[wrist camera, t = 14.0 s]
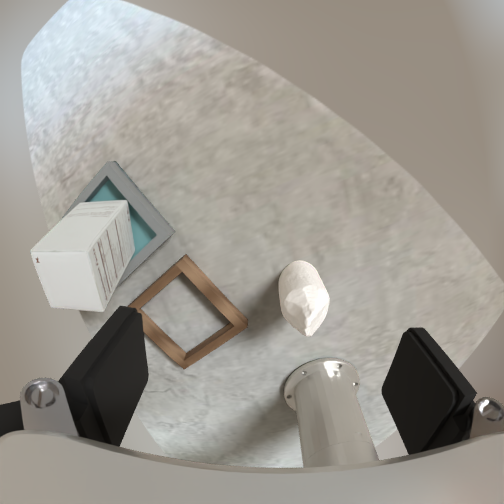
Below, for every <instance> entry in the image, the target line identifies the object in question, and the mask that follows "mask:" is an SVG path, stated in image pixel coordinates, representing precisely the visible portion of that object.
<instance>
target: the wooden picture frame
mask: <svg viewBox="0 0 504 504" xmlns="http://www.w3.org/2000/svg"><path fill="white" fill-rule="evenodd" d="M181 272H183V273H184V274H185V275H186V276H187V277H188V278H189V279H190V280H191V281H192V283H193V284H194V285H195V286H196V287H197V288H198V289H199V290H200V291H201V292H202V293H203V294H204V295H205V296H206V297H207V298H208V299H209V300H210V301H211V302H212V304H213V305H214V306H215V307H216V308H217V309H218V310H219V311H220V312H221V313H222V314H223V315H224V316H225V317H226V318H227V319H228V320H229V321H230V323H229V324H228V325H226V326H225V327H223V328H222V329H220V330H219V331H218V332H216V333H215V334H213V335H212V336H210V337H209V338H208V339H206V340H205V341H203V342H202V343H200V344H199V345H198V346H196V347H195V348H193V349H192V350H190V351H189V352H187V353H186V352H185V351H183V350H182V349H181V348H180V347H179V346H178V345H177V344H176V343H175V342H174V341H173V340H172V339H171V338H170V337H169V336H168V335H167V334H165V333H164V332H163V331H162V330H161V329H160V328H159V327H158V326H157V325H156V324H155V323H154V322H153V321H152V320H151V319H150V318H149V317H148V316H147V315H146V314H145V313H144V312H143V311H142V310H141V309H140V308H141V307H142V306H143V305H144V304H146V303H147V302H148V301H149V300H150V299H151V298H152V297H154V296H155V295H156V294H157V293H158V292H159V291H160V290H162V289H163V288H164V287H165V286H166V285H167V284H169V283H170V282H171V281H172V280H173V279H174V278H176V277H177V276H178V275H179V274H180V273H181ZM128 307H132V308H136V309H137V312H138V313H141V314H142V320H143V331H144V333H145V334H146V335H147V336H148V337H149V338H150V339H151V340H152V341H153V342H154V343H156V344H157V345H158V346H159V347H160V348H161V349H162V350H163V351H164V352H165V353H166V354H167V355H168V356H170V357H171V358H172V359H173V360H174V361H175V362H176V363H177V364H178V365H180V366H181V367H182V368H183V369H186V368H187V367H189V366H190V365H192V364H193V363H195V362H197V361H198V360H200V359H201V358H203V357H204V356H206V355H207V354H209V353H210V352H212V351H213V350H215V349H216V348H218V347H219V346H221V345H222V344H224V343H225V342H227V341H228V340H230V339H231V338H233V337H234V336H235V335H237V334H238V333H240V332H241V331H243V330H244V329H246V328H247V326H248V319H247V318H246V317H245V316H244V315H243V314H242V313H241V312H240V311H239V310H238V309H237V308H236V307H235V306H234V305H233V304H232V303H231V302H230V301H229V300H228V299H227V298H226V297H225V295H224V294H223V293H222V292H221V291H220V290H219V289H218V288H217V287H216V286H215V285H214V284H213V283H212V282H211V281H210V279H209V278H208V277H207V276H206V275H205V274H204V273H203V272H202V271H201V270H200V269H199V268H198V266H197V265H196V264H195V263H194V262H193V261H192V260H191V259H190V258H189V257H188V256H187V254H186V255H184V256H183V257H182V258H181V259H180V260H179V261H177V262H176V263H175V264H174V265H173V266H172V267H171V268H170V269H168V270H167V271H166V272H165V273H164V274H163V275H162V276H161V277H159V278H158V279H157V280H156V281H155V282H154V283H153V284H152V285H150V286H149V287H148V288H147V289H146V290H145V291H144V292H143V293H142V294H140V295H139V296H138V297H137V298H136V299H135V300H134V301H133V302H132V303H131V304H130V305H128Z"/></svg>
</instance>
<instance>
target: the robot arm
mask: <svg viewBox="0 0 504 504" xmlns="http://www.w3.org/2000/svg"><path fill="white" fill-rule="evenodd" d="M147 381H148V366H147V358H146V350H145V341H144V331H143V320H142V314H141V313H138V312H137V309H136V308H132V307H125V306H120V307H118V309H117V310H116V311H115V312H114V313H113V315H112V316H111V317H110V318H109V319H108V320H107V322H106V323H105V324H104V325H103V326H102V328H101V329H100V330H99V331H98V332H97V334H96V335H95V336H94V337H93V339H91V340H90V342H89V343H88V344H87V345H86V347H85V348H84V349H83V350H82V352H81V353H80V354H79V355H78V357H77V358H76V359H75V361H74V362H73V363H72V364H71V365H70V367H69V368H68V369H67V371H66V372H65V373H64V374H63V376H62V377H61V378H60V380H59V381H56V380H53V379H51V378H38V379H34V380H32V381H30V382H28V383H27V384H26V385H25V386H24V387H23V388H22V391H21V393H20V401H16V402H11V403H7V404H3V405H0V504H504V406H503V405H502V404H501V403H500V402H499V401H497V400H495V399H493V398H489V397H483V398H480V399H478V400H477V401H476V403H474V401H473V399H474V398H475V396H476V394H477V392H476V391H475V390H474V388H473V387H472V386H471V385H470V383H469V382H468V381H467V379H466V378H465V377H464V376H463V374H462V373H461V372H460V371H459V369H458V368H457V367H456V366H455V364H454V363H453V362H452V361H451V359H450V358H449V357H448V356H447V355H446V353H445V352H444V351H443V350H442V349H441V347H440V346H439V345H438V344H437V343H436V341H435V340H434V339H433V338H432V337H431V336H430V334H429V333H428V332H427V331H426V330H425V329H424V328H409V329H408V330H407V331H406V332H404V333H403V335H402V338H401V341H400V343H399V346H398V349H397V351H396V354H395V357H394V359H393V362H392V364H391V367H390V369H389V372H388V374H387V377H386V379H385V381H384V384H383V386H382V396H383V398H384V400H385V402H386V404H387V406H388V409H389V411H390V413H391V415H392V418H393V420H394V422H395V424H396V426H397V429H398V431H399V433H400V436H401V438H402V440H403V443H404V445H405V447H406V449H407V452H408V454H409V455H406V456H402V457H396V458H391V459H385V460H379V458H378V455H377V452H376V450H375V447H374V444H373V441H372V438H371V435H370V432H369V429H368V427H367V424H366V421H365V418H364V415H363V413H362V410H361V407H360V404H359V402H358V399H357V396H356V394H357V392H358V390H359V386H360V378H359V374H358V372H357V370H356V369H355V367H354V366H353V365H352V364H350V363H349V362H347V361H344V360H342V359H337V358H324V359H318V360H314V361H311V362H309V363H306V364H304V365H303V366H301V367H299V368H298V369H297V370H295V371H294V372H293V373H292V374H291V375H290V376H289V378H288V379H287V381H286V383H285V386H284V398H285V401H286V403H287V404H288V406H289V407H290V408H291V409H293V410H294V411H296V414H297V421H298V429H299V437H300V444H301V452H302V460H303V468H262V467H241V466H228V465H218V464H209V463H201V462H193V461H187V460H180V459H174V458H169V457H164V456H158V455H153V454H148V453H143V452H139V451H134V450H130V449H126V448H122V447H120V444H121V442H122V439H123V437H124V435H125V432H126V430H127V427H128V425H129V423H130V420H131V418H132V416H133V413H134V411H135V409H136V406H137V404H138V402H139V400H140V397H141V395H142V393H143V390H144V388H145V386H146V384H147Z"/></svg>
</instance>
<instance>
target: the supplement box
mask: <svg viewBox="0 0 504 504" xmlns="http://www.w3.org/2000/svg"><path fill="white" fill-rule="evenodd" d="M134 252H135V246H134V239H133V233H132V227H131V221H130V214H129V207H128V201H127V200H113V201H97V202H83V203H79V204H78V205H77V206H76V207H75V208H74V209H73V210H71V211H70V212H69V213H68V214H67V215H66V216H65V217H64V218H63V219H62V220H61V221H60V222H58V223H57V224H56V225H55V226H54V227H53V228H52V229H51V230H50V231H49V232H48V233H47V234H46V235H45V236H44V237H43V238H42V239H41V240H40V241H39V242H38V243H37V244H36V245H35V246H34V247H33V248H32V249H31V250H30V253H31V256H32V259H33V262H34V265H35V268H36V271H37V274H38V277H39V279H40V282H41V284H42V287H43V289H44V292H45V294H46V297H47V299H48V301H49V304H50V306H51V307H52V308H62V309H73V310H84V311H96V312H104V311H105V309H106V307H107V305H108V303H109V301H110V299H111V297H112V295H113V293H114V291H115V289H116V287H117V285H118V282H119V280H120V279H121V277H122V275H123V273H124V271H125V269H126V267H127V265H128V263H129V261H130V260H131V258H132V256H133V254H134Z"/></svg>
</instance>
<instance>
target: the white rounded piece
mask: <svg viewBox="0 0 504 504" xmlns="http://www.w3.org/2000/svg"><path fill="white" fill-rule="evenodd" d="M279 297H280V306H281V312H282V314H283V316H284V318H285V319H286V320H287V321H288V322H289V323H290V324H291V325H292V326H293V327H294V328H295V329H297V330H298V331H299V332H300V333H301V334H302V335H305V336H309V337H311V336H312V335H313V333H314V332H315V331H316V329H317V328H318V327H319V326H320V325H321V323H322V322H323V320H324V319H325V317H326V314H327V310H328V306H329V301H330V299H329V295H328V293H327V290H326V288H325V286H324V284H323V282H322V280H321V278H320V276H319V274H318V272H317V270H316V269H315V268H314V267H313V266H312V265H311V264H309V263H307V262H305V261H294V262H292V263H290V264H289V265H288V266H286V268H285V269H284V270H283V271H282V273H281V275H280V278H279Z"/></svg>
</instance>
